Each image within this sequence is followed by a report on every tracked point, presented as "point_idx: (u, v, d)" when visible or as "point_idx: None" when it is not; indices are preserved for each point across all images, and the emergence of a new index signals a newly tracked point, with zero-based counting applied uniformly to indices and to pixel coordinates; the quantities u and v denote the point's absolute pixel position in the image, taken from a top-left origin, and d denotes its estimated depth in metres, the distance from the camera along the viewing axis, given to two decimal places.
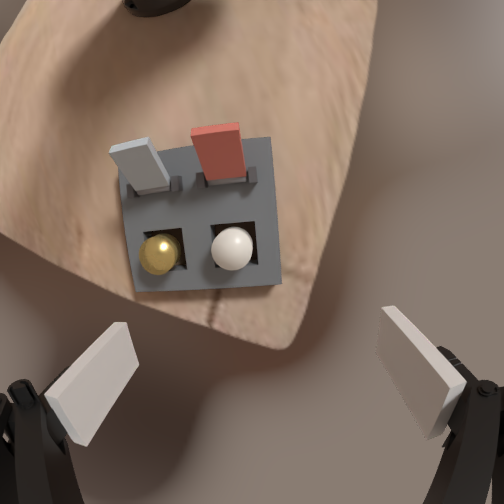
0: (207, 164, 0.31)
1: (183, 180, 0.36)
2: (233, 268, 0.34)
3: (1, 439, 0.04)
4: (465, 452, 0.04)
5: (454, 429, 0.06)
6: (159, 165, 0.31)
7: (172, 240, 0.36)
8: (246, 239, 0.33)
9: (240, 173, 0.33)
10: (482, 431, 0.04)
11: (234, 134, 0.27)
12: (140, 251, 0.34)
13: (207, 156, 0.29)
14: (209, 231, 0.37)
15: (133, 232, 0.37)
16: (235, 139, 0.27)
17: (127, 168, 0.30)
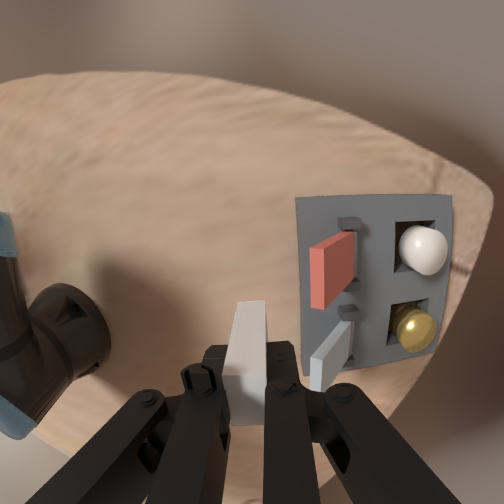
0: (344, 281, 0.25)
1: (342, 303, 0.30)
2: (446, 251, 0.25)
3: (136, 450, 0.06)
4: (272, 455, 0.05)
5: None
6: (336, 337, 0.26)
7: (404, 315, 0.29)
8: (423, 235, 0.25)
9: (351, 239, 0.26)
10: (287, 431, 0.06)
11: (326, 253, 0.21)
12: (411, 351, 0.28)
13: (339, 283, 0.24)
14: (399, 273, 0.29)
15: (383, 355, 0.32)
16: (330, 251, 0.21)
17: (333, 373, 0.26)
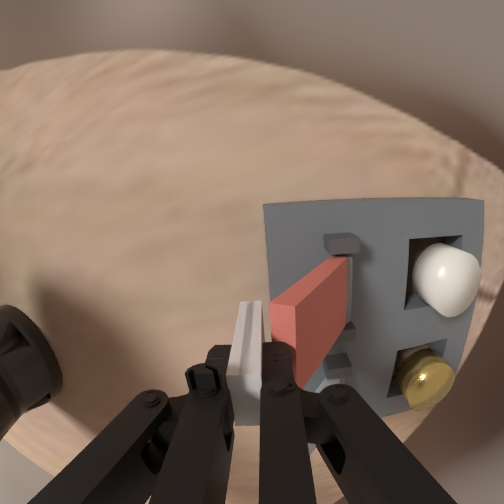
0: (332, 337, 0.16)
1: (330, 353, 0.21)
2: (478, 281, 0.16)
3: (140, 450, 0.06)
4: (267, 455, 0.05)
5: None
6: None
7: (414, 365, 0.20)
8: (450, 261, 0.15)
9: (344, 269, 0.17)
10: (282, 431, 0.06)
11: (301, 311, 0.11)
12: (419, 409, 0.18)
13: (324, 344, 0.15)
14: (411, 310, 0.20)
15: (382, 408, 0.22)
16: (308, 304, 0.12)
17: (310, 448, 0.17)
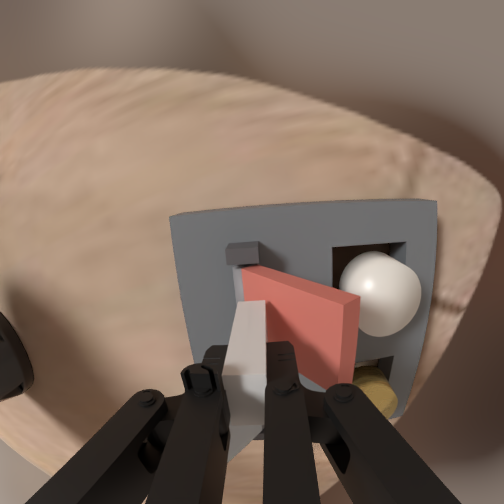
0: None
1: None
2: (418, 297, 0.15)
3: (136, 450, 0.06)
4: (272, 455, 0.05)
5: None
6: None
7: None
8: (373, 274, 0.15)
9: None
10: (287, 431, 0.06)
11: None
12: None
13: None
14: None
15: None
16: None
17: None
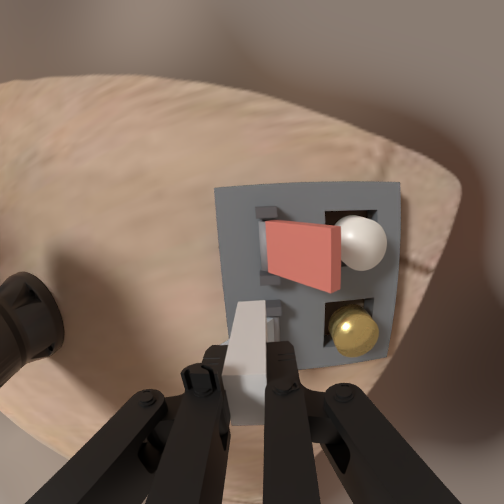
0: None
1: (267, 298, 0.30)
2: (384, 243, 0.24)
3: (136, 450, 0.06)
4: (272, 455, 0.05)
5: None
6: None
7: (340, 315, 0.28)
8: (351, 225, 0.24)
9: None
10: (287, 431, 0.06)
11: None
12: (348, 355, 0.27)
13: None
14: None
15: (321, 358, 0.31)
16: None
17: None
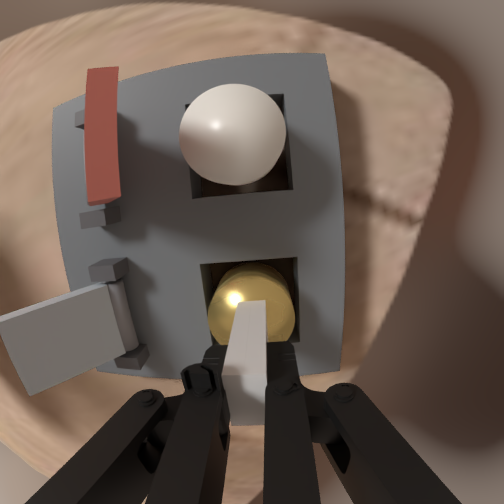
0: None
1: (109, 256, 0.17)
2: (280, 127, 0.12)
3: (136, 450, 0.06)
4: (272, 455, 0.05)
5: None
6: (53, 302, 0.13)
7: (224, 279, 0.17)
8: (202, 97, 0.11)
9: None
10: (287, 431, 0.06)
11: None
12: None
13: None
14: (206, 200, 0.16)
15: None
16: None
17: (63, 366, 0.13)
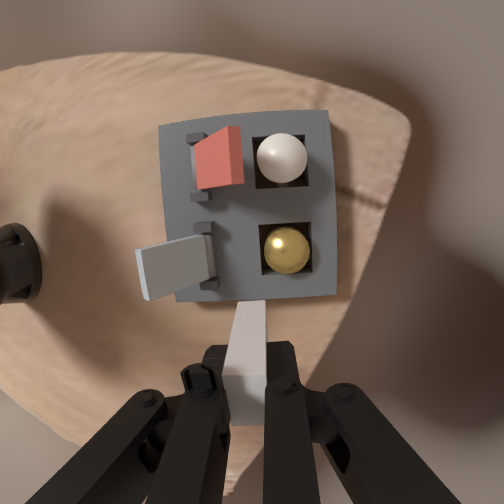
0: None
1: (202, 220, 0.31)
2: (304, 156, 0.26)
3: (136, 450, 0.06)
4: (272, 455, 0.05)
5: None
6: (174, 241, 0.27)
7: (271, 232, 0.32)
8: (268, 139, 0.26)
9: None
10: (286, 431, 0.06)
11: None
12: (280, 271, 0.31)
13: None
14: (263, 190, 0.30)
15: (261, 288, 0.33)
16: None
17: (174, 281, 0.27)
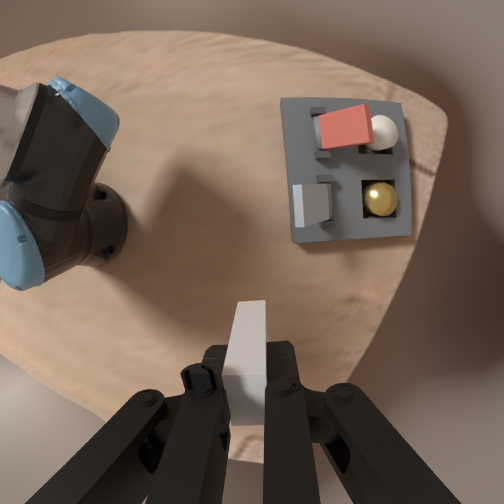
0: None
1: (320, 174, 0.38)
2: (396, 132, 0.33)
3: (136, 450, 0.06)
4: (272, 455, 0.05)
5: None
6: (314, 184, 0.34)
7: (368, 186, 0.39)
8: (374, 118, 0.33)
9: None
10: (287, 431, 0.06)
11: None
12: (379, 213, 0.38)
13: None
14: (364, 154, 0.37)
15: (362, 229, 0.40)
16: None
17: (315, 215, 0.34)
